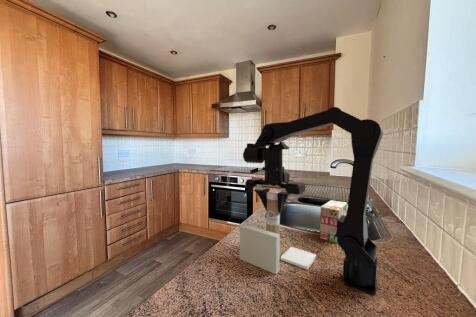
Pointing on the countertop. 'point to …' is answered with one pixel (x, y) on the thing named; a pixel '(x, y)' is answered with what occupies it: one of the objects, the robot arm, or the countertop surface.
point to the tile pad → (298, 257)
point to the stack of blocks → (331, 219)
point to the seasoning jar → (272, 212)
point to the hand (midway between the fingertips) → (273, 211)
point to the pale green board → (260, 248)
